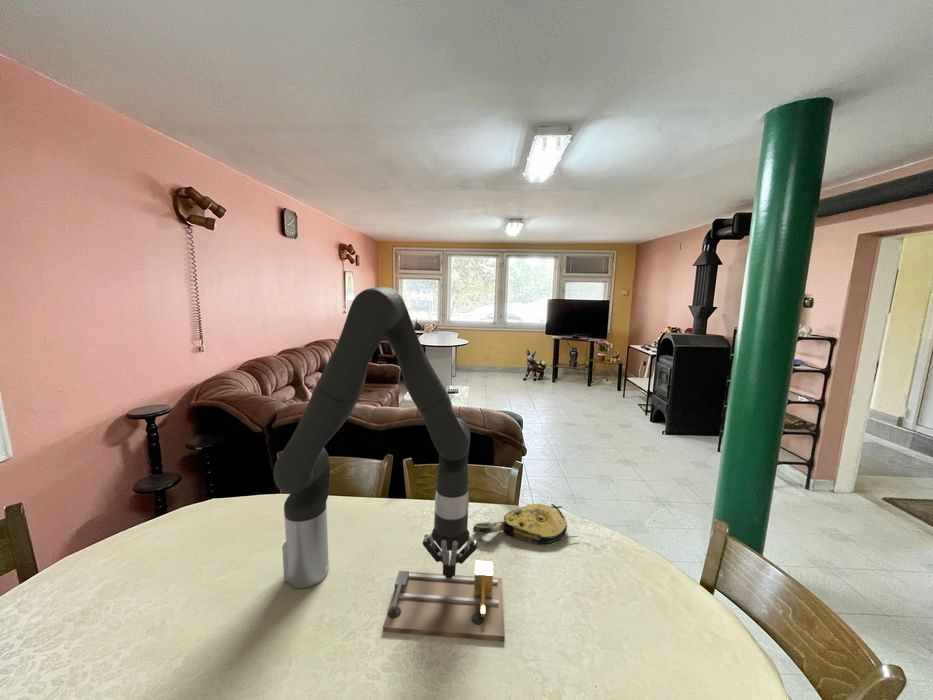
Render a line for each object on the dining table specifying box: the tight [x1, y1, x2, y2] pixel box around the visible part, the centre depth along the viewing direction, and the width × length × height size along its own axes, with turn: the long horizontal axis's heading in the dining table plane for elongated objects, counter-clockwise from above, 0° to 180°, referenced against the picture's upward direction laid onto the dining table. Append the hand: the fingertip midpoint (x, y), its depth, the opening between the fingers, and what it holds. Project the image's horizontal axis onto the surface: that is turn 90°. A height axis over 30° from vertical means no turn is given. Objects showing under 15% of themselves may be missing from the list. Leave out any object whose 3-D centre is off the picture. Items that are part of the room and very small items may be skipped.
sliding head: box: [474, 560, 494, 619], centre depth 80 cm, size 4×10×6 cm, turn 177°
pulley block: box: [472, 503, 579, 546], centre depth 107 cm, size 14×6×30 cm
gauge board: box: [382, 570, 506, 642], centre depth 81 cm, size 25×15×4 cm, turn 87°
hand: (449, 575), depth 83 cm, fingers closed
